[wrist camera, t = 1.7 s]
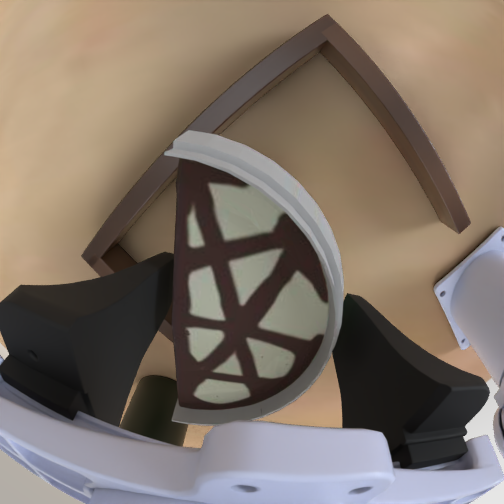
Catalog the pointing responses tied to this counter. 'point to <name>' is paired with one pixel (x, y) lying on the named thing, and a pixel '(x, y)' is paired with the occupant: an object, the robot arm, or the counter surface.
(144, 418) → the wine bottle
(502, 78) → the counter surface
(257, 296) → the food container
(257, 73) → the brown frame
